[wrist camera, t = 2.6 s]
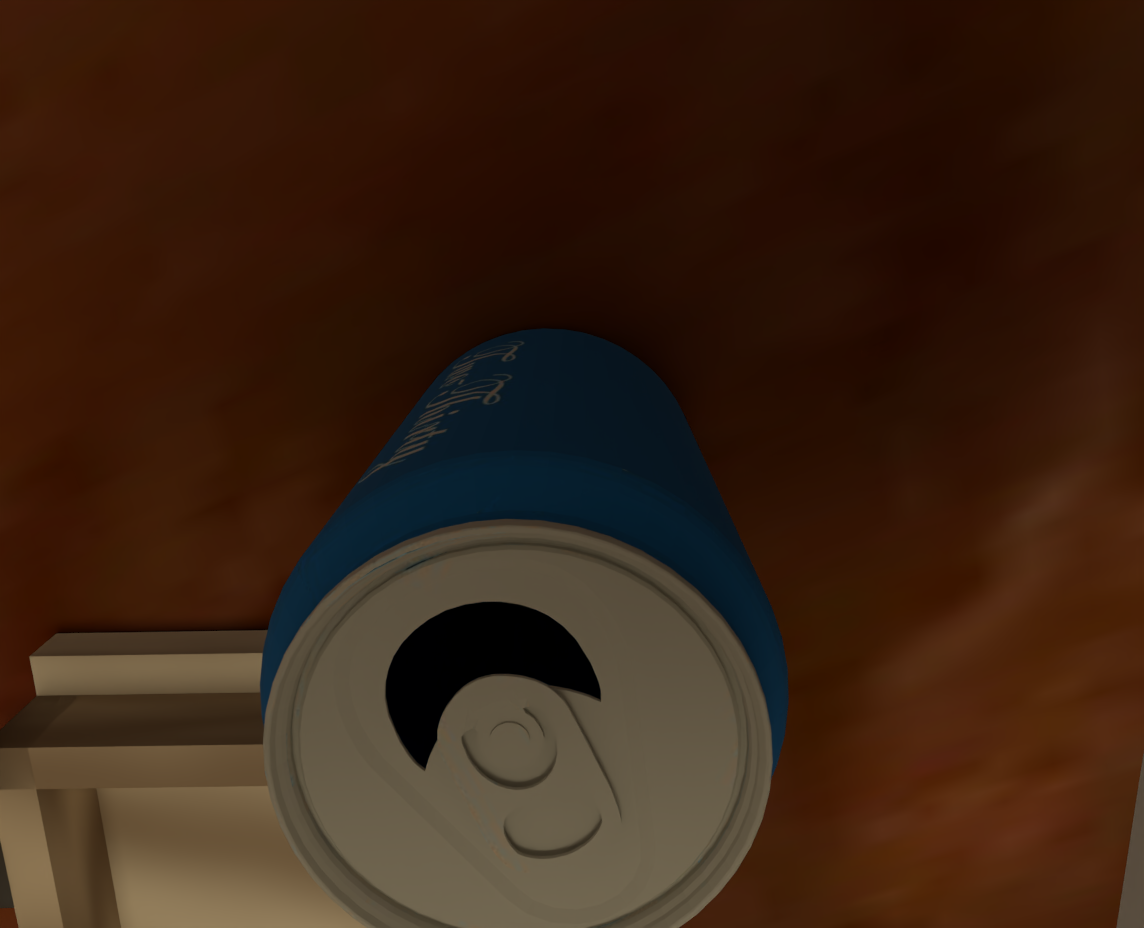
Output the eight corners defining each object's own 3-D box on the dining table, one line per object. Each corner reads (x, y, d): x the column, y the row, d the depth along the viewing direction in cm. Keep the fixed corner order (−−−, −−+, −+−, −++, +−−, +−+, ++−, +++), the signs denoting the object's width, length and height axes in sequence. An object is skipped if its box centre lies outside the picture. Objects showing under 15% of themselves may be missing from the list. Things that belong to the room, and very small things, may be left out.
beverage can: (624, 275, 21) (678, 382, 9) (734, 532, 23) (895, 894, 11) (358, 394, 22) (109, 629, 10) (483, 635, 23) (388, 1073, 12)
